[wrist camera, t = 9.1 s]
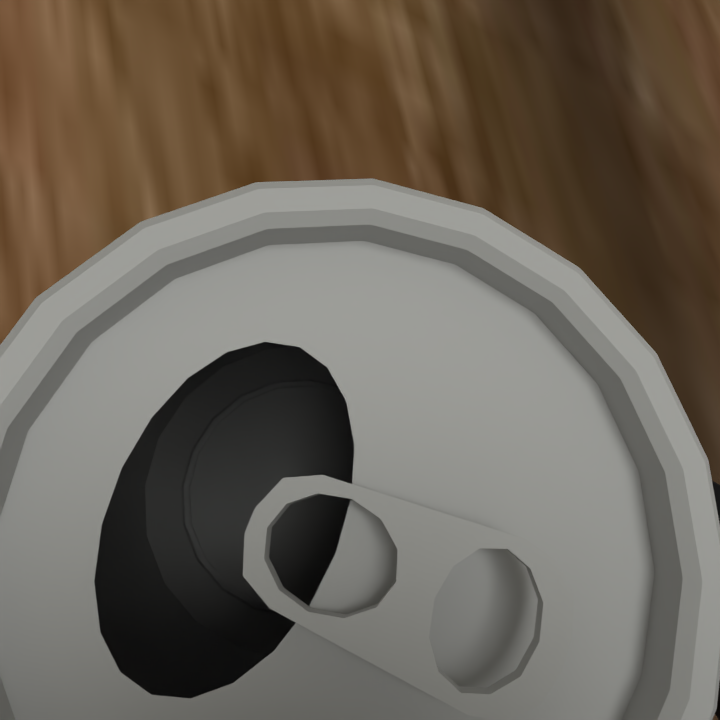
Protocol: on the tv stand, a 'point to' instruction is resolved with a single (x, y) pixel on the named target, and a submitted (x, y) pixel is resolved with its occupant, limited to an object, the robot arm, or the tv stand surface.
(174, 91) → the tv stand surface
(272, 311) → the can
